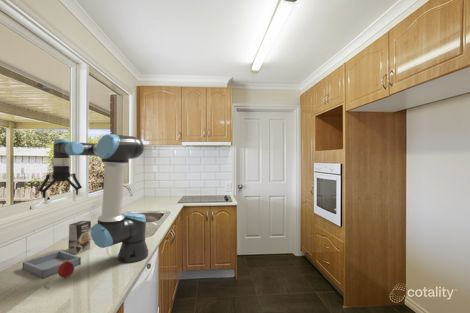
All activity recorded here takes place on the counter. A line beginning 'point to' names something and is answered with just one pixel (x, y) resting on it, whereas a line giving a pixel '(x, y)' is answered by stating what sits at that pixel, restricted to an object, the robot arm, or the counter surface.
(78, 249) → the coffee box
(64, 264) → the onion
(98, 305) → the counter surface
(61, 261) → the tray
